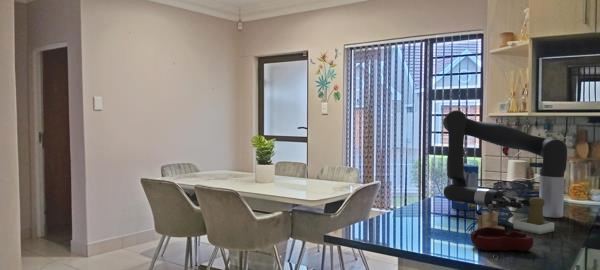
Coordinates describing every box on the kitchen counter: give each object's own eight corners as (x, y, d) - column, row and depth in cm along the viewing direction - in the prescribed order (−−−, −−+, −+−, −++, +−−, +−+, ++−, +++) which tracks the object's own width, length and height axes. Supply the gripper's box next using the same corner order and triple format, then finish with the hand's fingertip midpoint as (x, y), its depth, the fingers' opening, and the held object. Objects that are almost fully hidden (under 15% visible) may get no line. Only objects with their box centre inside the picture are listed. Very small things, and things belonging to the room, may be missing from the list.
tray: (528, 225, 183) (528, 217, 183) (554, 230, 175) (554, 222, 175) (513, 228, 178) (513, 220, 177) (539, 234, 169) (539, 225, 169)
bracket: (493, 226, 181) (493, 202, 181) (505, 228, 177) (506, 205, 176) (477, 228, 176) (478, 204, 175) (490, 231, 171) (491, 207, 171)
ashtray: (512, 241, 159) (512, 226, 159) (537, 255, 143) (538, 239, 143) (459, 240, 159) (460, 226, 159) (479, 254, 143) (480, 238, 142)
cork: (545, 229, 173) (548, 199, 173) (527, 227, 175) (530, 197, 175) (541, 226, 179) (544, 197, 179) (524, 224, 181) (526, 195, 180)
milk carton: (451, 207, 219) (452, 164, 219) (461, 206, 222) (462, 164, 221) (467, 211, 210) (468, 166, 210) (477, 210, 213) (478, 166, 212)
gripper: (478, 190, 188) (516, 196, 174) (499, 188, 195) (537, 193, 182) (478, 209, 188) (516, 216, 174) (499, 205, 196) (537, 212, 182)
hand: (527, 204), depth 178 cm, fingers open, 8 cm apart
